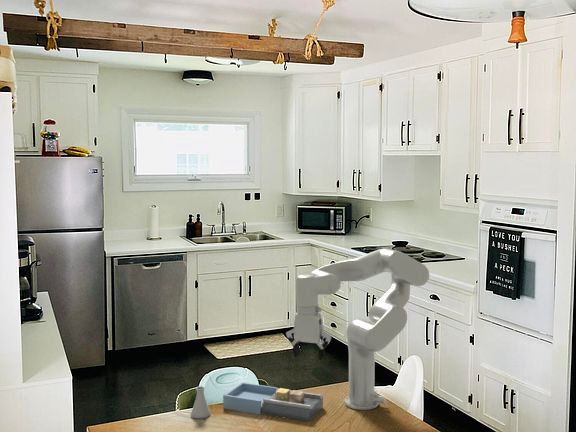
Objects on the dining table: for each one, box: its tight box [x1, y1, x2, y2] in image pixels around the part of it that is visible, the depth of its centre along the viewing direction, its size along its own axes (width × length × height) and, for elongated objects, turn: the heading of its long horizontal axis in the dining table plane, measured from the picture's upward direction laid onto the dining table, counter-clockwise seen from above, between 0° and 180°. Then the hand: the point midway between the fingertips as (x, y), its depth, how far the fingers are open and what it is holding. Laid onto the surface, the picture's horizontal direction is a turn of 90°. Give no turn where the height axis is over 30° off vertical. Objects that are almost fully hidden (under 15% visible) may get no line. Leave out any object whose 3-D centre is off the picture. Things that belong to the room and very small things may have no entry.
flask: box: [190, 386, 211, 419], centre depth 218 cm, size 7×7×10 cm
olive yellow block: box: [275, 387, 291, 401], centre depth 222 cm, size 4×4×3 cm
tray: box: [222, 382, 278, 415], centre depth 228 cm, size 15×15×5 cm
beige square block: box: [289, 389, 305, 403], centre depth 220 cm, size 4×4×3 cm
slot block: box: [262, 387, 324, 423], centre depth 221 cm, size 18×14×5 cm
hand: (309, 357), depth 216 cm, fingers open, 9 cm apart
